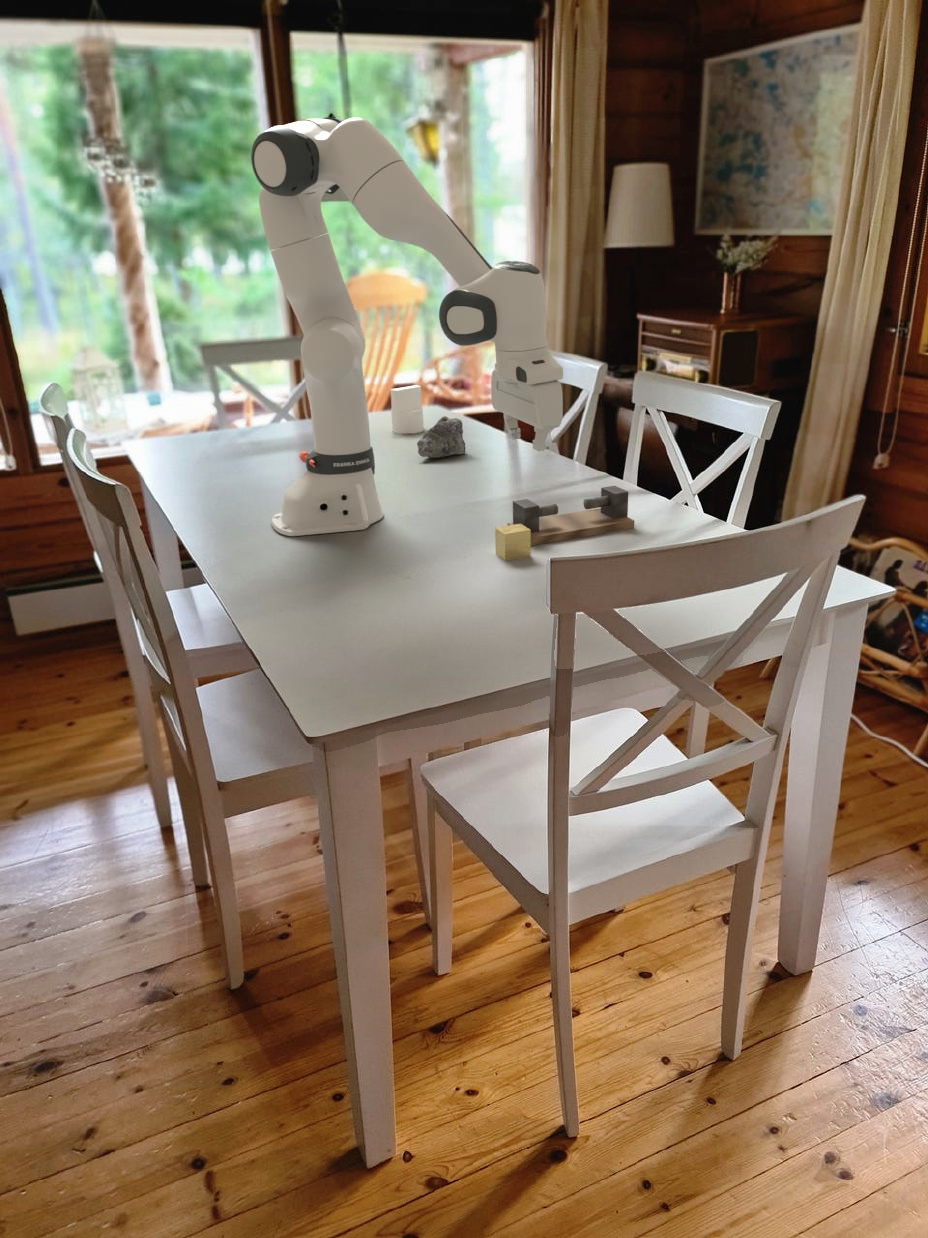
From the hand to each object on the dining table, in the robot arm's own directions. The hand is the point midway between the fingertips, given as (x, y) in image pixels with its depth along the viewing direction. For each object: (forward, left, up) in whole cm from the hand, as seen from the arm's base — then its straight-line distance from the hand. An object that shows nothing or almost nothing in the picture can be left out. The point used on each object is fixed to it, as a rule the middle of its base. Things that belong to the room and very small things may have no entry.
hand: (526, 444), depth 162 cm
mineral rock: (+11, +72, -19) cm, 76 cm away
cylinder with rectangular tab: (+14, +106, -19) cm, 109 cm away
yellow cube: (-5, -4, -19) cm, 20 cm away
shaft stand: (+11, +4, -19) cm, 22 cm away
